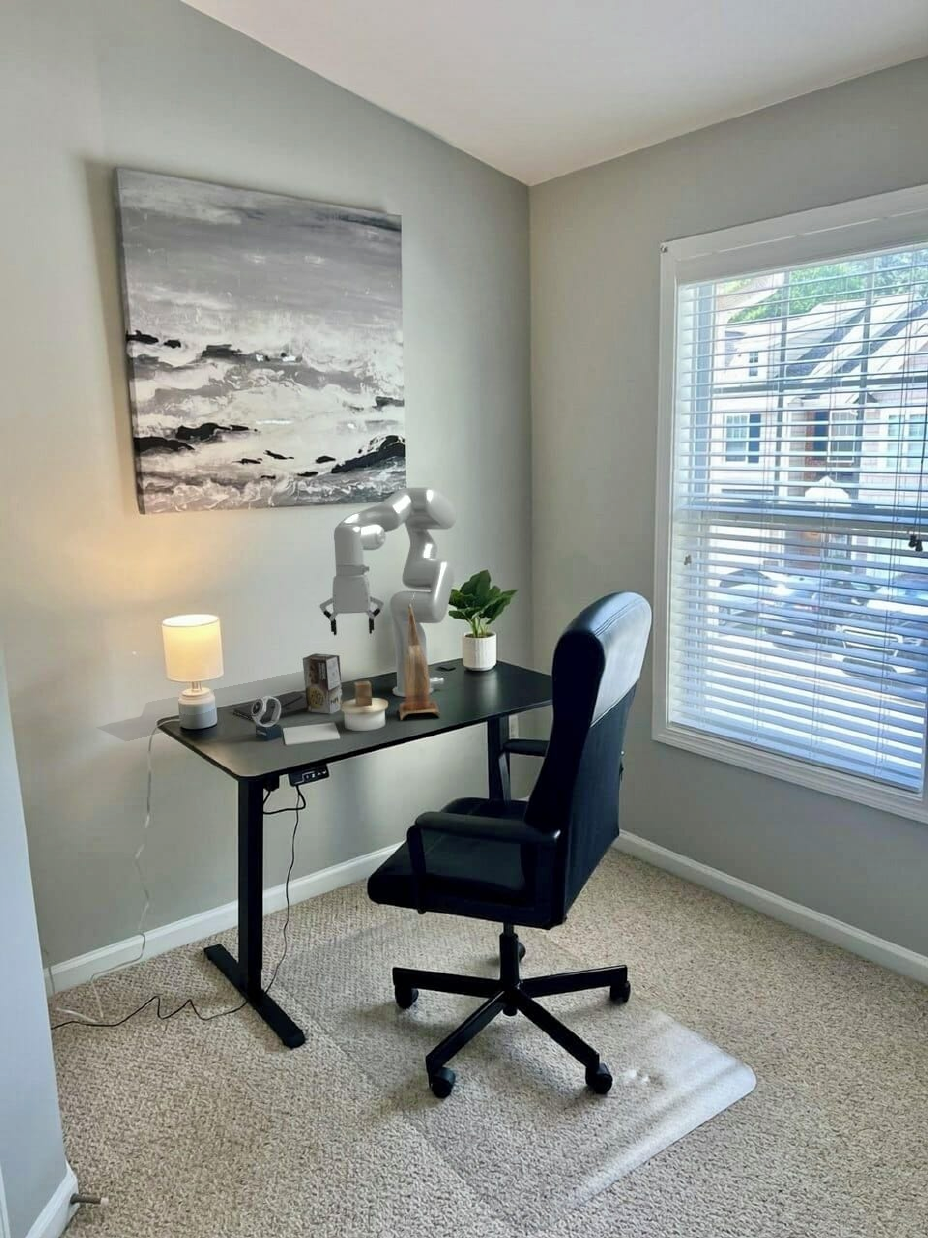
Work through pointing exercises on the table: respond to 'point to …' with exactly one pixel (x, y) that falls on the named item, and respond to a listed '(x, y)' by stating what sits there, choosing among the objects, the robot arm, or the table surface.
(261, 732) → the watch
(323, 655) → the coffee box
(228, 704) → the table surface
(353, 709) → the lid
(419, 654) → the tan tower model
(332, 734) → the mat
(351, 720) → the bowl
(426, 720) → the table surface
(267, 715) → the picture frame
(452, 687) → the table surface
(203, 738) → the table surface
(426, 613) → the robot arm
